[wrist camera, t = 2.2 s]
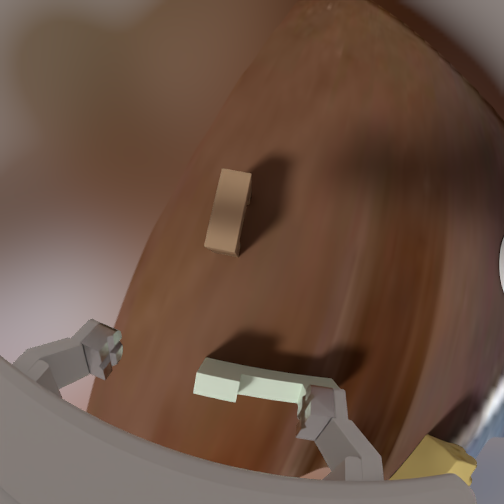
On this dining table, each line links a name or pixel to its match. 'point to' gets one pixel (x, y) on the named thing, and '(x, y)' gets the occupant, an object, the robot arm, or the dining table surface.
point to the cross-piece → (229, 212)
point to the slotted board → (252, 382)
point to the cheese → (437, 461)
